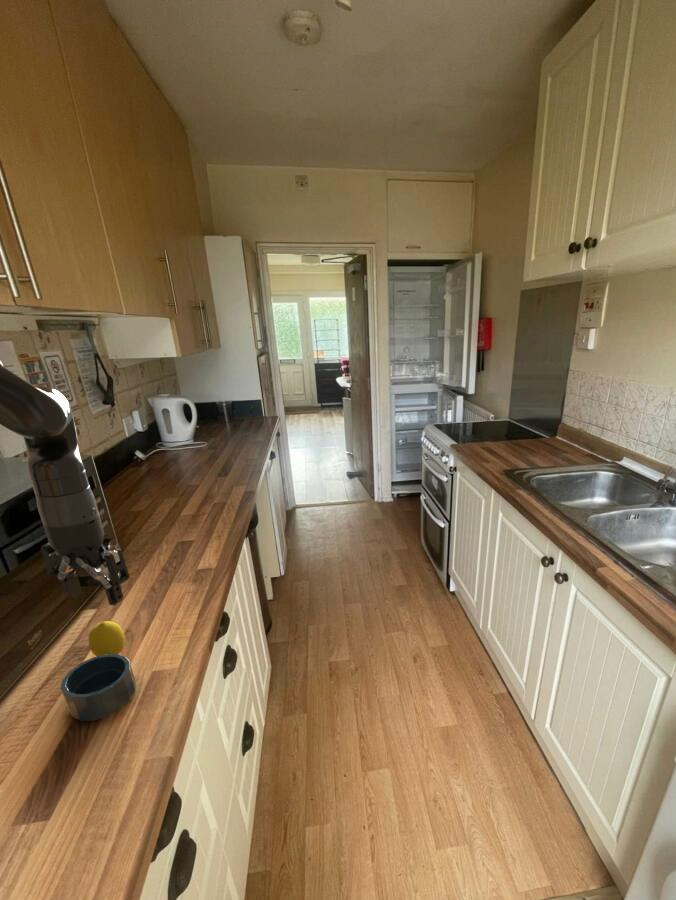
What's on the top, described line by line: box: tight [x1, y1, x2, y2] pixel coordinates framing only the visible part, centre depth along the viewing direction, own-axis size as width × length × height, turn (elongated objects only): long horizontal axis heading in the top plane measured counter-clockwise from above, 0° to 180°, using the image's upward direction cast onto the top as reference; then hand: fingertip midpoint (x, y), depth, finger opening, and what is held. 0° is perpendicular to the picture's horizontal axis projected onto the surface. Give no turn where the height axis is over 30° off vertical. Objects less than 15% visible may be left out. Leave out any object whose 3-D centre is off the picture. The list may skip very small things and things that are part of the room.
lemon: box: [88, 620, 126, 657], centre depth 78 cm, size 6×6×8 cm
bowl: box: [59, 653, 137, 722], centre depth 70 cm, size 9×9×6 cm
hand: (96, 599), depth 75 cm, fingers open, 8 cm apart
